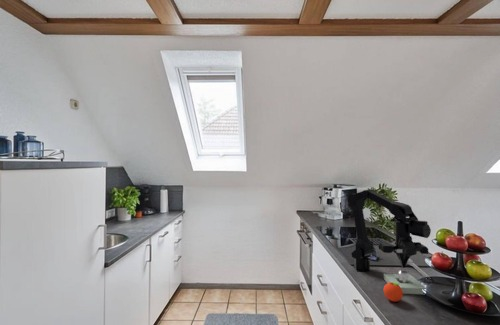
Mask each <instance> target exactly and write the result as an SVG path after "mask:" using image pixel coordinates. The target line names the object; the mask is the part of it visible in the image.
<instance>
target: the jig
mask: <svg viewBox="0 0 500 325" xmlns="http://www.w3.org/2000/svg"><path fill="white" fill-rule="evenodd" d="M383 279H384V281H385V282H386V284H387V283H390V282H392V283H398V284H400V285H399V286H400V287H401V289H402V291H403V295H404V294H405V295H406V294H407V295H408V294H410V295H424V294H423V292H422V289H427V287H425V286H424V284H422V283H421V282H420V281H418V279H416V278H415V277H414V276H412V274H409V284H408V283H399V277H398V273H383ZM401 285H402V286H403V287H402V286H401ZM427 290H428V289H427Z"/></svg>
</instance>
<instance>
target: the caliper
mask: <svg viewBox="0 0 500 325" xmlns="http://www.w3.org/2000/svg"><path fill="white" fill-rule="evenodd" d="M408 265H409V266H410V267H412V268H414V269H415V270H416V271H417V272H418V273H419V274H421V275H422V277H424V278H425V277H429V278H430V275H428V274H427V273H426V272H425V271H424V270H422V269H421V267H419V266H418V265H417V264H416V263H414V261H413V260H412V259H411V258H410V257H409V259H408V261H407V264H406V266H408Z"/></svg>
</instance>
